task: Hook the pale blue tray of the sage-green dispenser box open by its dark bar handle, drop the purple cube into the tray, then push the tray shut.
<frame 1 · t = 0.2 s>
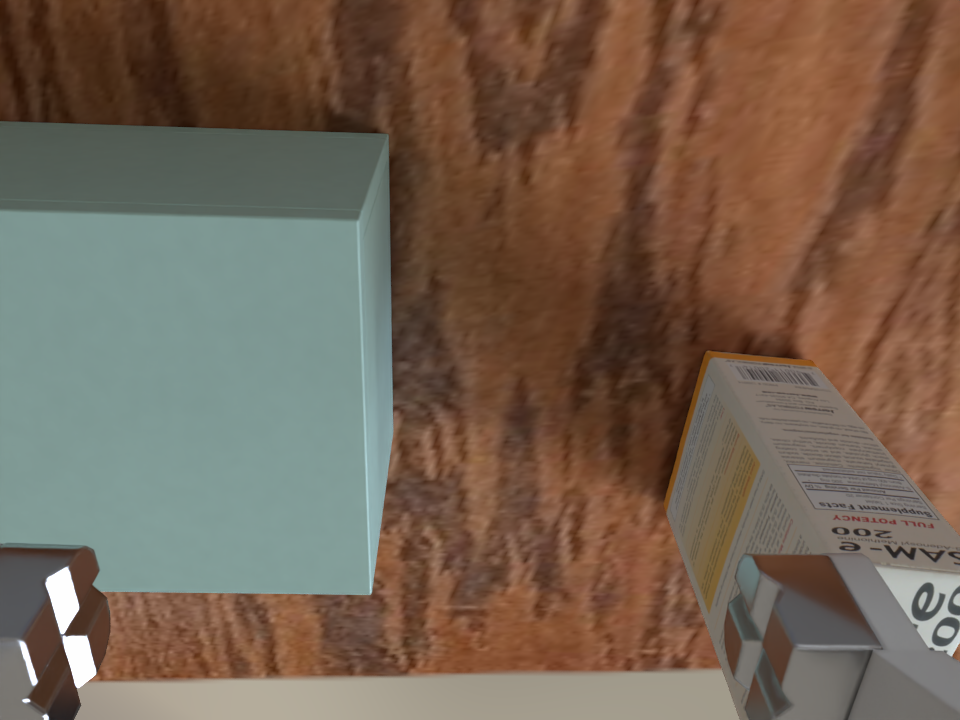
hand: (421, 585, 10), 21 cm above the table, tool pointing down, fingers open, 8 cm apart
dispenser: (202, 292, 32), on the table
supplement box: (733, 430, 35), on the table
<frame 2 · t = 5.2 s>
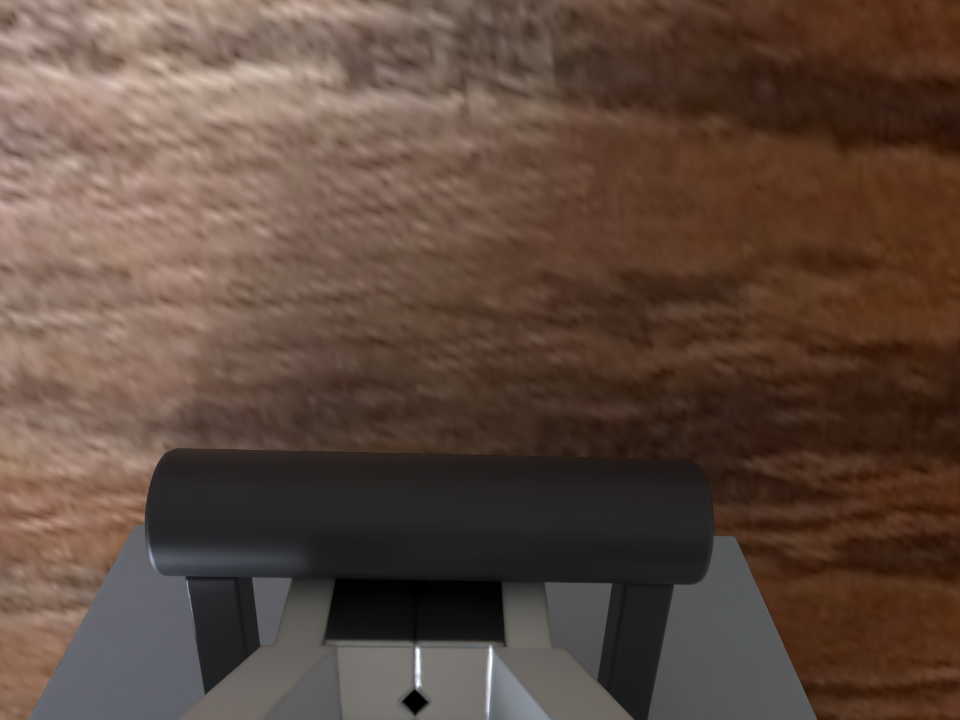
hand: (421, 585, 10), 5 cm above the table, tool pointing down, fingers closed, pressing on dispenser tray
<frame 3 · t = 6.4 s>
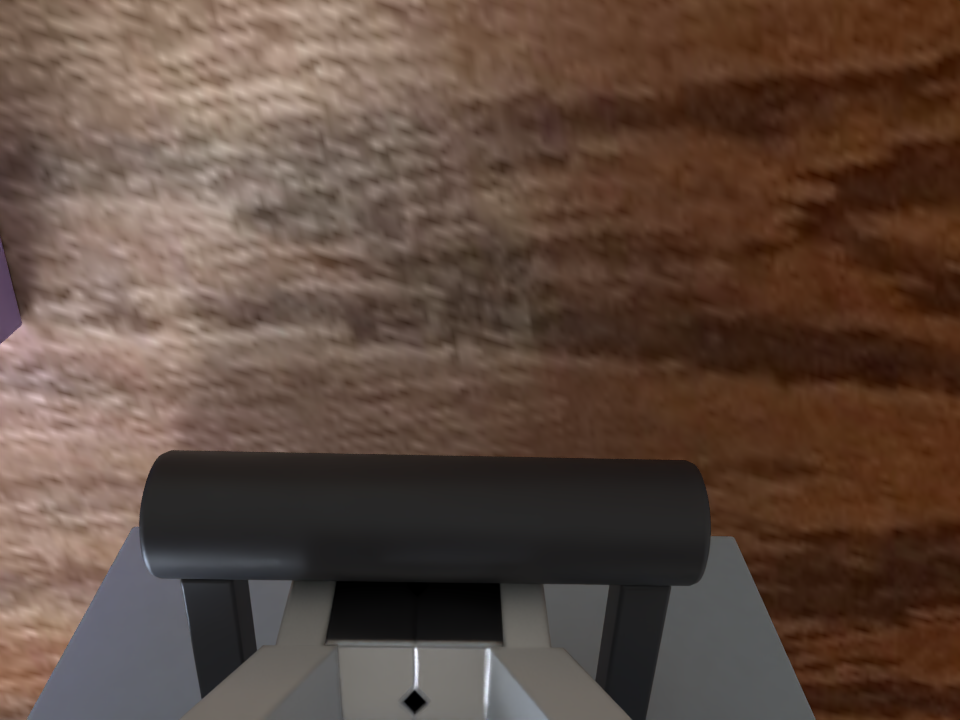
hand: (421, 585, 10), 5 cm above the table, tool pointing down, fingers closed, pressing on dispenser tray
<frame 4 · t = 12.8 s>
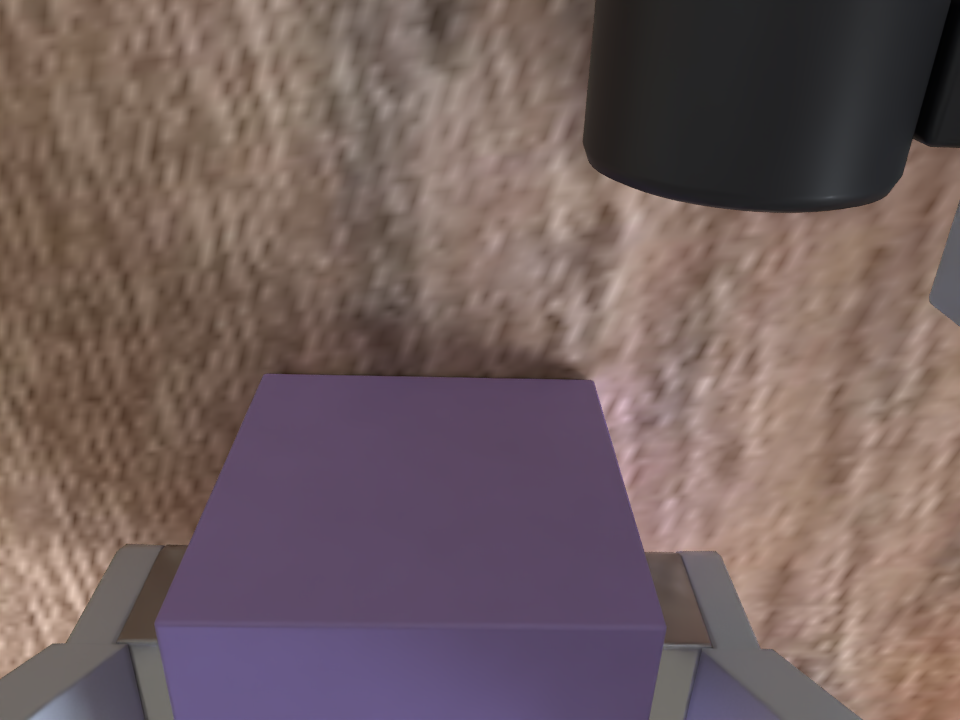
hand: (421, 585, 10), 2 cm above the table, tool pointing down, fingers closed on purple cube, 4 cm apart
purple cube: (428, 507, 12), on the table, touching gripper
when the fingers open (11 cm above the table, at t = 17.3 s): purple cube drops 7 cm, resting on dispenser tray.
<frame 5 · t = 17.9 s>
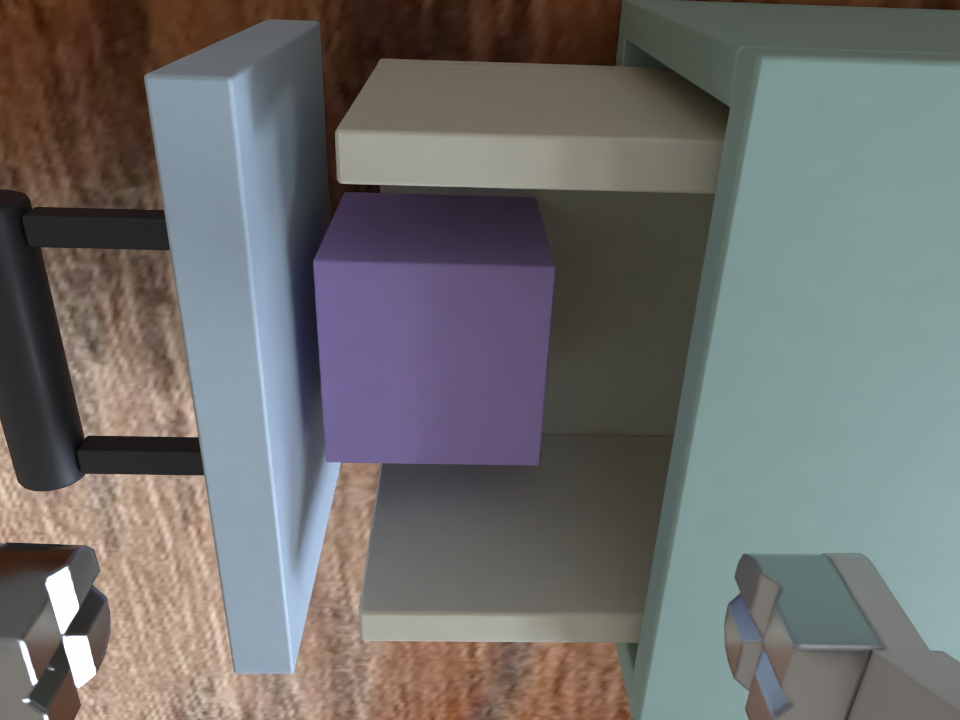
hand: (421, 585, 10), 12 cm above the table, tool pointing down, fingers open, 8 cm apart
dispenser: (866, 265, 22), on the table
dispenser tray: (456, 335, 17), point 5 cm above the table, slide at 6.7 cm, touching purple cube
purple cube: (439, 283, 20), point 2 cm above the table, touching dispenser tray
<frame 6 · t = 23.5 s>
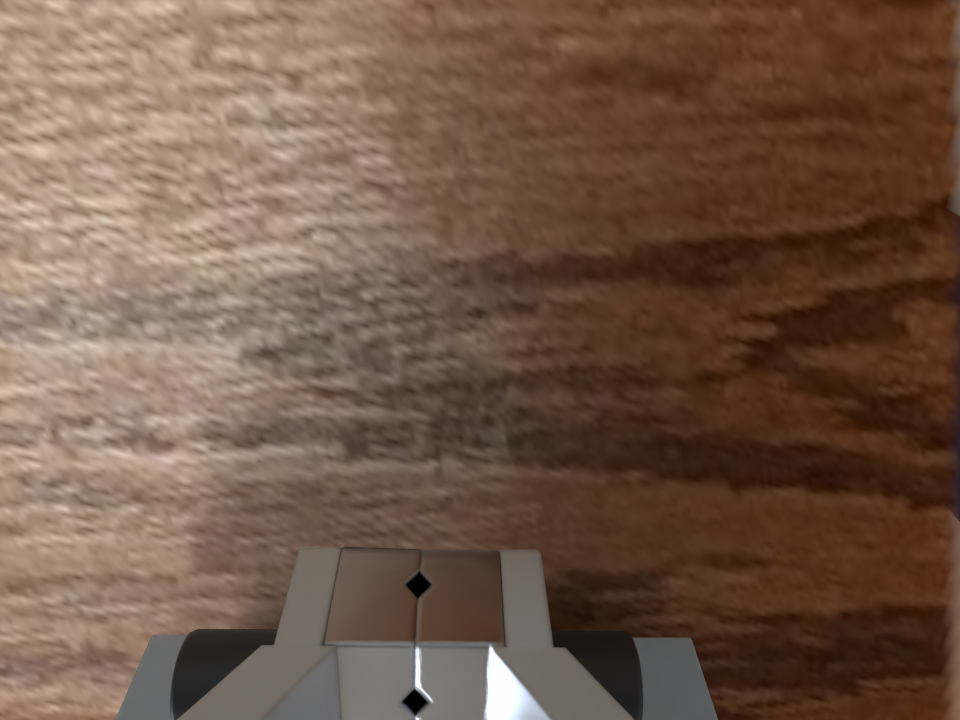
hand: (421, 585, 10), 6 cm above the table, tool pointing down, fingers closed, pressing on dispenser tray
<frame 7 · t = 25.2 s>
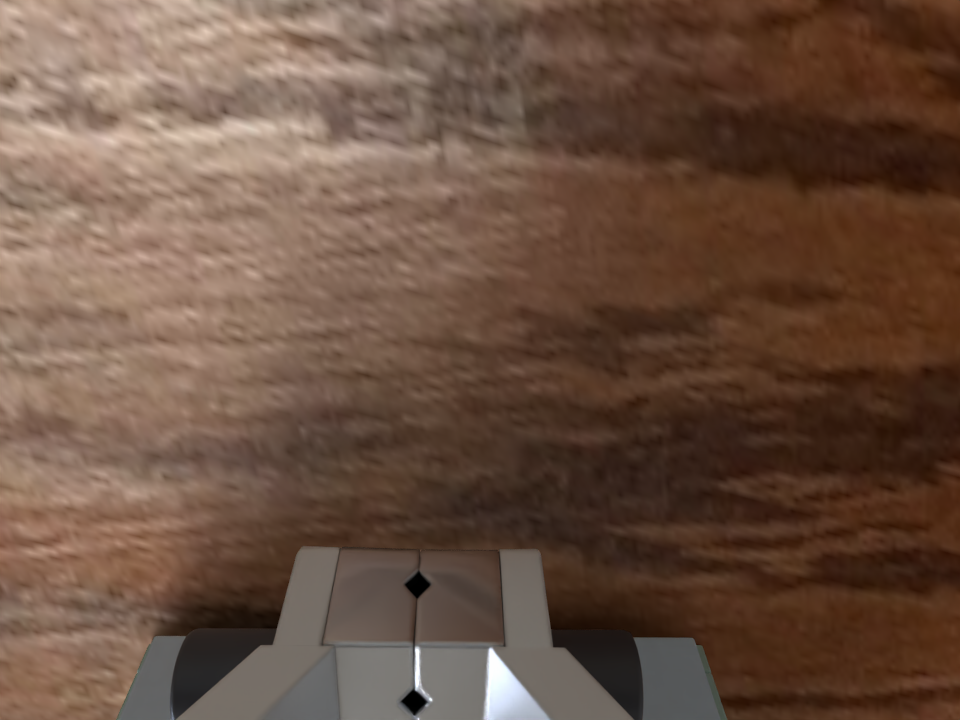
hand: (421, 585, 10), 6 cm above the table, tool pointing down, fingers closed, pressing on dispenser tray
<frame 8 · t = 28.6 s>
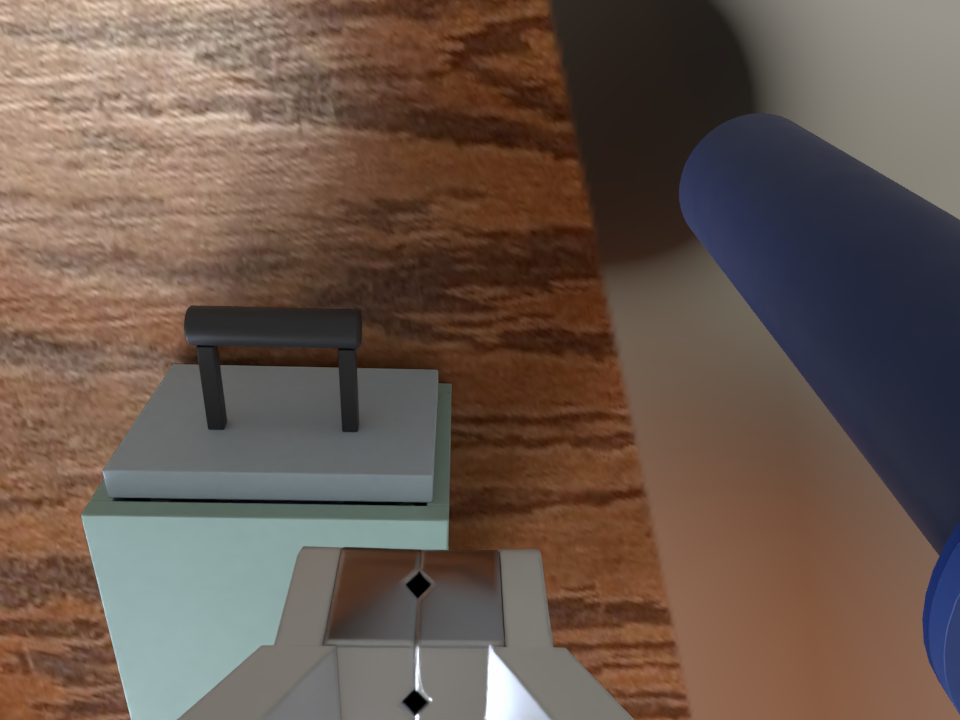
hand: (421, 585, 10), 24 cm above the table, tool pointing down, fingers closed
dispenser: (320, 510, 40), on the table
dispenser tray: (296, 502, 34), point 5 cm above the table, slide at 0.0 cm, touching purple cube, dispenser
purple cube: (307, 455, 36), point 2 cm above the table, touching dispenser tray
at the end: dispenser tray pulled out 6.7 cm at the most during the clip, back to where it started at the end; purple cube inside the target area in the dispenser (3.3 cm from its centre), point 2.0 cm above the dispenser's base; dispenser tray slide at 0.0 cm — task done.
